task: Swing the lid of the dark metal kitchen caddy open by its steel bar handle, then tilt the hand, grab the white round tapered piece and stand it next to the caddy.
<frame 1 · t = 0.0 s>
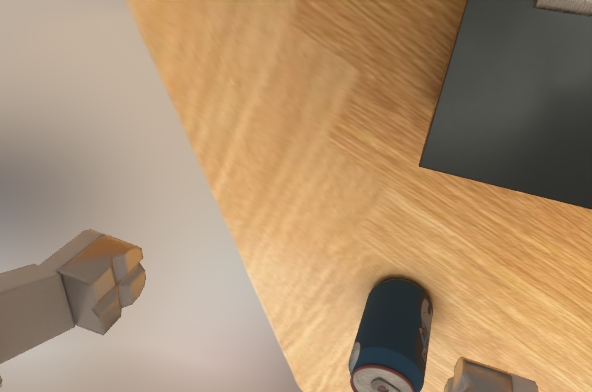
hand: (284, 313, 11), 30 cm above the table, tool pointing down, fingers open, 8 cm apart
soda can: (401, 296, 49), on the table
bin lid: (551, 92, 22), point 12 cm above the table, hinge at 0.0°
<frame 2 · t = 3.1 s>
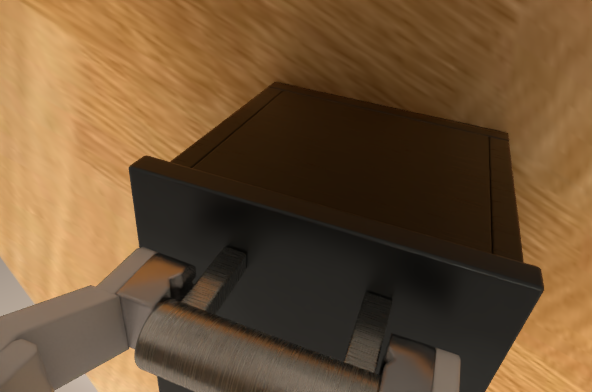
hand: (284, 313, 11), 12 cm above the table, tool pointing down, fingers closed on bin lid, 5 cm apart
bin: (359, 218, 23), on the table
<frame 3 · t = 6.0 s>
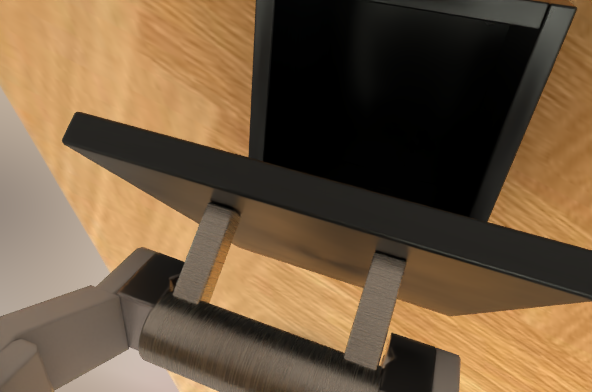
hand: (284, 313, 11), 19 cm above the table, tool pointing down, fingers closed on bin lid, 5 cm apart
bin: (402, 84, 26), on the table
bin lid: (310, 304, 14), point 16 cm above the table, hinge at 43.1°, touching gripper
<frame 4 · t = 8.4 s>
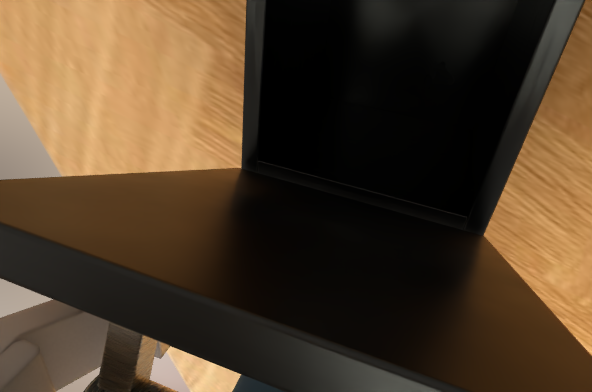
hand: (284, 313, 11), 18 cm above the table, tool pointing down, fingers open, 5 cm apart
bin: (418, 9, 23), on the table
soda can: (306, 333, 39), on the table
bin lid: (299, 300, 12), point 17 cm above the table, hinge at 63.6°
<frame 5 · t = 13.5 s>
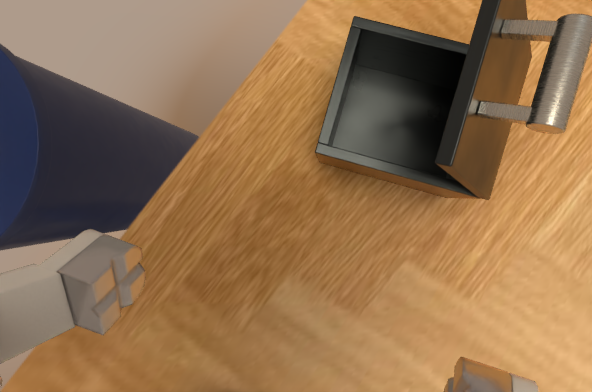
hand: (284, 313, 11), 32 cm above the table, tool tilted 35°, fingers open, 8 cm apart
bin: (397, 126, 42), on the table
bin lid: (529, 102, 24), point 17 cm above the table, hinge at 63.6°
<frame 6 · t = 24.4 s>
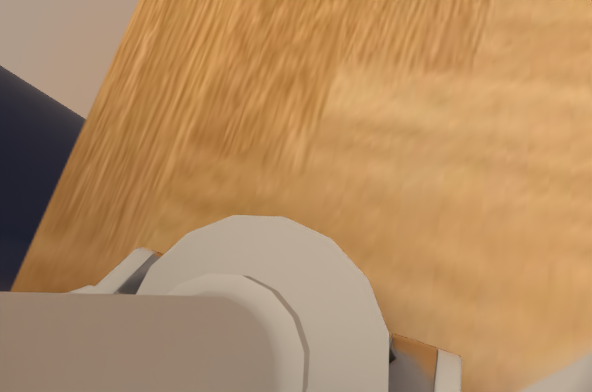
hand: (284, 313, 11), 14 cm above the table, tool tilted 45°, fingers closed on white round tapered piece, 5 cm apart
white round tapered piece: (332, 318, 24), on the table, touching gripper
when the fingers open (14 cm above the table, at t = 34.0 s): white round tapered piece stays where it is, on the table.
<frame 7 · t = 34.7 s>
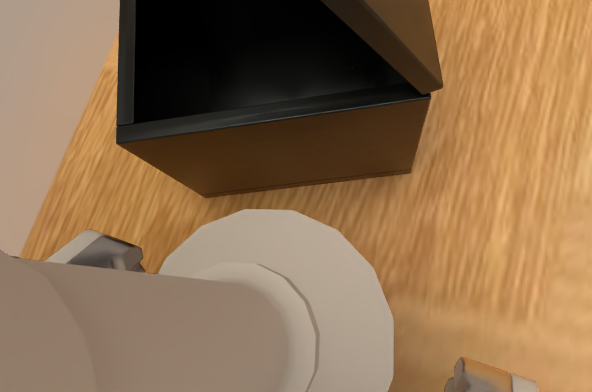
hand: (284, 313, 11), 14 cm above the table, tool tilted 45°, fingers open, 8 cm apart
bin: (297, 105, 28), on the table
white round tapered piece: (335, 313, 24), on the table
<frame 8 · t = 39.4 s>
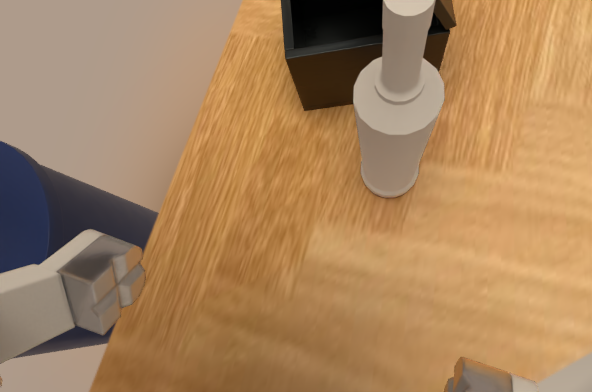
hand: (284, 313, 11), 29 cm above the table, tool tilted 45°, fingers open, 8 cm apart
bin: (361, 54, 44), on the table
white round tapered piece: (388, 173, 41), on the table
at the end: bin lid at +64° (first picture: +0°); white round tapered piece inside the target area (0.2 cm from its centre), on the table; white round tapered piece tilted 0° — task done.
